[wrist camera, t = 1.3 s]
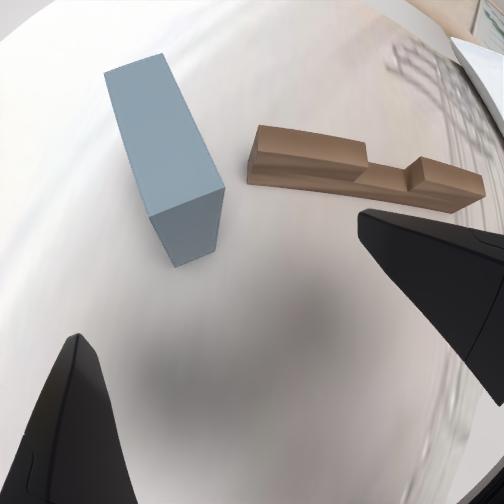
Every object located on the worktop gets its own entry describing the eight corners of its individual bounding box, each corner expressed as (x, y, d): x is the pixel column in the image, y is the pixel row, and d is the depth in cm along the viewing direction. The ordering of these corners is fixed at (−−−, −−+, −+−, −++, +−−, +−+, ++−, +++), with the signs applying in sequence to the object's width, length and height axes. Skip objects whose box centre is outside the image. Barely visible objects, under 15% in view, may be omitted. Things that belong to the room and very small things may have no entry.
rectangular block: (214, 250, 22) (225, 187, 12) (175, 267, 22) (148, 217, 11) (174, 157, 23) (162, 53, 13) (138, 171, 23) (103, 73, 12)
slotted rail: (452, 213, 26) (486, 196, 22) (247, 184, 24) (257, 151, 19) (448, 194, 27) (481, 175, 22) (248, 160, 24) (258, 124, 19)
